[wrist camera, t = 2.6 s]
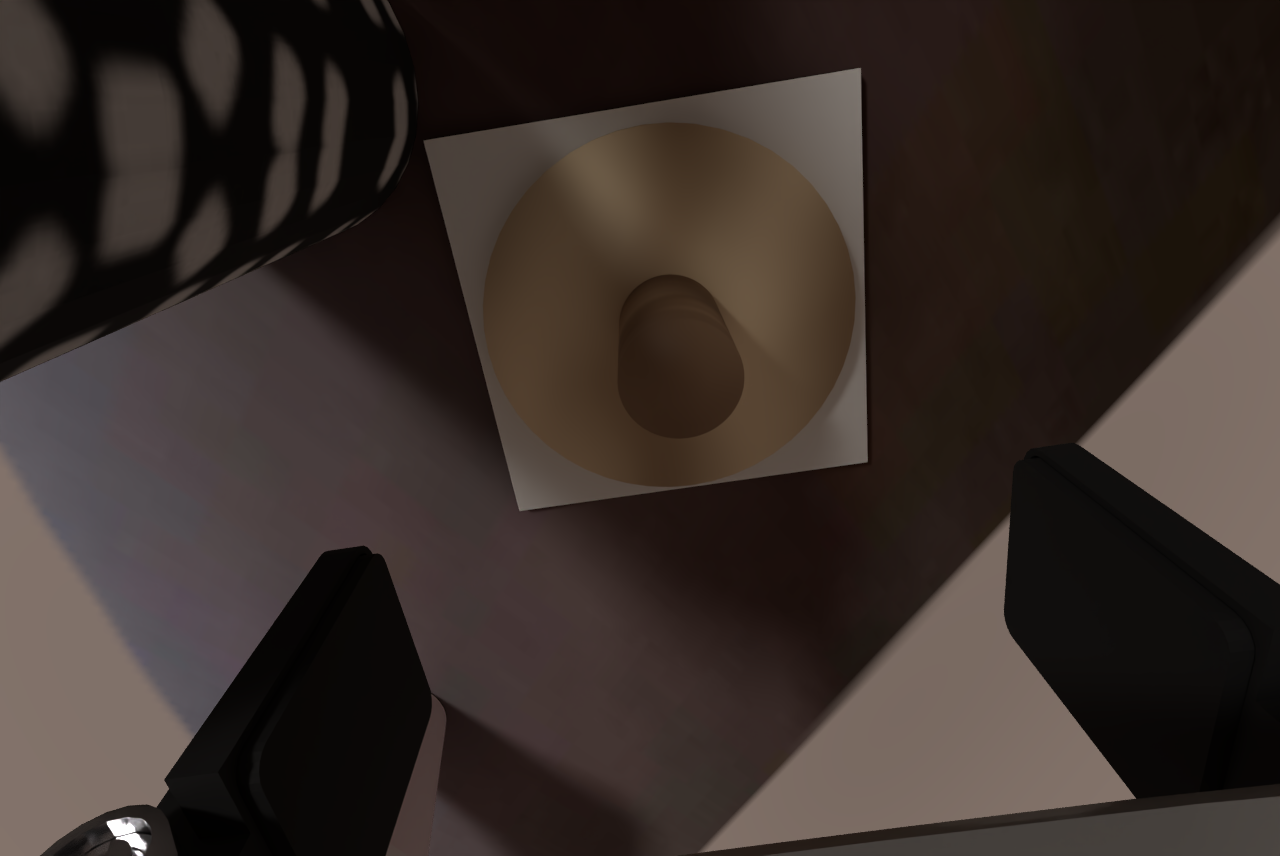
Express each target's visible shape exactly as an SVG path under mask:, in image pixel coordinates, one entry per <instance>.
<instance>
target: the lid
mask: <svg viewBox="0 0 1280 856" xmlns="http://www.w3.org/2000/svg"><path fill="white" fill-rule="evenodd" d="M855 300H856V295H855V284H854V273H853V269H852V264H851V260H850V256H849V251H848V248H847V245H846V243H845V240H844V238H843V235H842V232H841V230H840V227H839V225H838V223H837V221H836V220H835V218H834V216H833V214H832V212H831V211H830V209H829V207H828V205H827V204H826V202H825V201H824V200H823V198H822V197H821V196H820V195H819V193H818V192H817V191H816V189H815V188H814V187H813V185H812V184H811V183H810V182H809V181H808V180H807V179H806V178H805V177H804V176H803V175H802V174H801V173H800V172H799V171H798V170H797V169H796V168H795V167H794V166H792V165H791V164H790V163H788V162H787V161H785V160H784V159H783V158H781V157H780V156H779V155H777V154H776V153H774V152H773V151H772V150H770V149H768V148H766V147H764V146H762V145H760V144H758V143H756V142H754V141H753V140H751V139H749V138H746V137H743V136H740V135H738V134H735V133H732V132H729V131H726V130H723V129H719V128H714V127H709V126H704V125H699V124H693V123H674V122H665V123H654V124H643V125H638V126H634V127H630V128H625V129H621V130H617V131H614V132H612V133H609V134H607V135H604V136H601V137H599V138H596V139H594V140H591V141H590V142H588V143H586V144H584V145H583V146H581V147H579V148H577V149H576V150H574V151H572V152H570V153H569V154H567V155H566V156H565V157H563V158H562V159H561V160H560V161H558V162H557V163H556V164H554V165H553V166H552V167H550V168H549V169H548V170H547V171H545V173H544V174H543V175H542V176H541V177H540V178H539V179H538V180H537V181H536V182H535V183H534V184H533V185H532V186H531V187H530V188H529V189H528V190H527V191H526V192H525V194H524V195H523V196H522V198H521V199H520V200H519V202H518V203H517V205H516V206H515V207H514V209H513V210H512V211H511V213H510V215H509V217H508V219H507V221H506V222H505V224H504V226H503V228H502V230H501V232H500V233H499V236H498V239H497V241H496V244H495V247H494V249H493V252H492V254H491V257H490V262H489V266H488V270H487V275H486V279H485V287H484V298H483V319H484V332H485V338H486V343H487V348H488V353H489V356H490V359H491V362H492V366H493V369H494V372H495V375H496V377H497V379H498V381H499V383H500V385H501V387H502V389H503V391H504V394H505V395H506V397H507V399H508V400H509V402H510V403H511V405H512V406H513V408H514V409H515V411H516V412H517V414H518V415H519V416H520V418H521V419H522V420H523V421H524V422H525V423H526V425H527V426H528V427H529V428H530V429H531V431H532V432H534V433H535V434H536V435H537V436H538V437H539V438H540V439H541V440H542V441H543V442H544V443H545V444H547V445H548V446H549V447H550V448H552V449H553V450H554V451H556V452H557V453H559V454H560V455H561V456H563V457H564V458H566V459H567V460H569V461H571V462H573V463H575V464H576V465H578V466H580V467H582V468H584V469H586V470H588V471H591V472H593V473H596V474H598V475H601V476H603V477H606V478H610V479H613V480H617V481H621V482H624V483H629V484H636V485H643V486H655V487H676V486H688V485H695V484H700V483H705V482H710V481H714V480H718V479H721V478H724V477H727V476H730V475H733V474H736V473H738V472H740V471H742V470H745V469H747V468H749V467H751V466H753V465H755V464H757V463H759V462H760V461H762V460H764V459H765V458H767V457H769V456H770V455H772V454H774V453H775V452H776V451H778V450H779V449H780V448H781V447H783V446H784V445H785V444H787V443H788V442H789V441H791V440H792V439H793V438H794V437H795V436H796V435H797V434H798V433H799V432H800V431H801V430H802V429H803V428H804V427H805V426H806V425H807V424H808V423H809V422H810V420H811V419H812V418H813V417H814V415H815V414H816V413H817V412H818V410H819V409H820V408H821V407H822V405H823V403H824V402H825V400H826V399H827V397H828V395H829V394H830V392H831V391H832V389H833V387H834V385H835V383H836V381H837V379H838V377H839V375H840V372H841V370H842V368H843V366H844V363H845V359H846V356H847V353H848V350H849V347H850V343H851V338H852V332H853V327H854V321H855Z"/></svg>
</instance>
